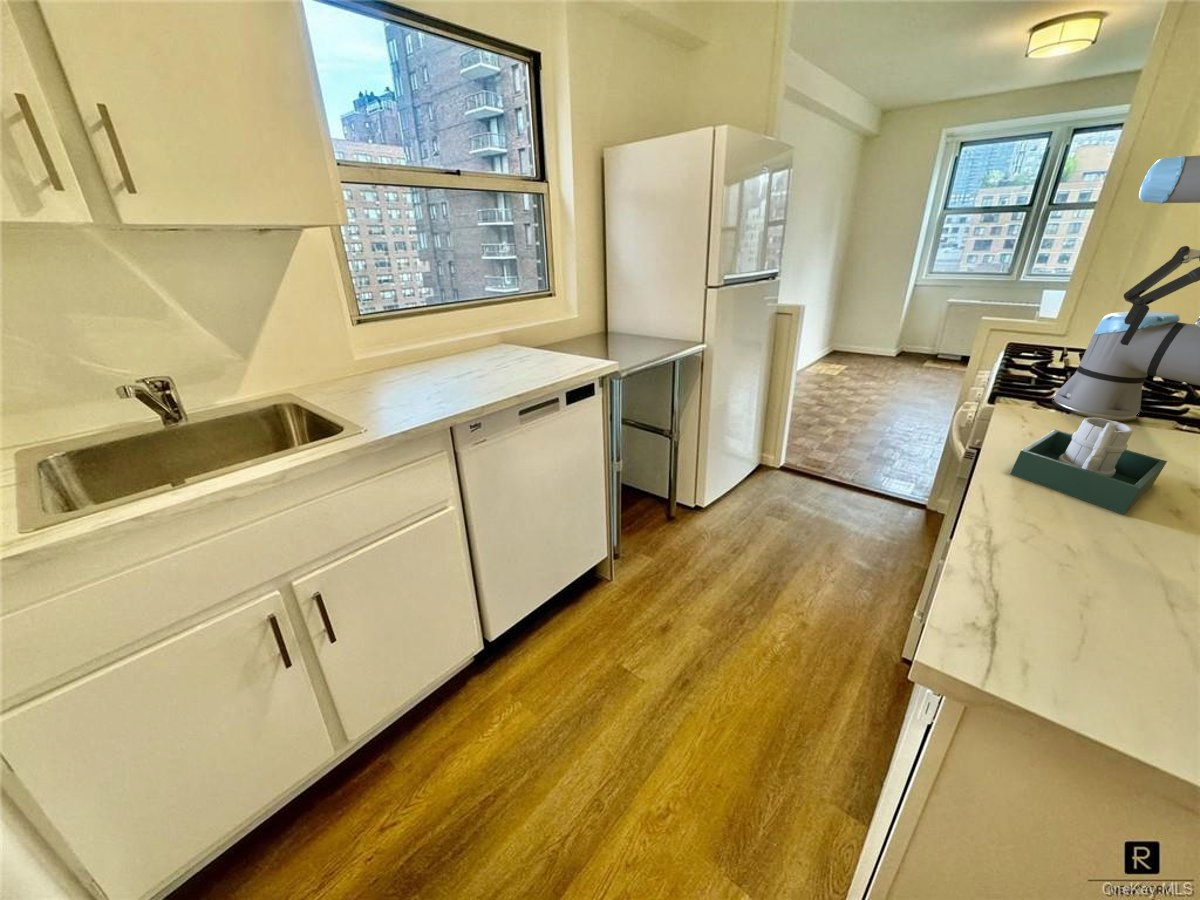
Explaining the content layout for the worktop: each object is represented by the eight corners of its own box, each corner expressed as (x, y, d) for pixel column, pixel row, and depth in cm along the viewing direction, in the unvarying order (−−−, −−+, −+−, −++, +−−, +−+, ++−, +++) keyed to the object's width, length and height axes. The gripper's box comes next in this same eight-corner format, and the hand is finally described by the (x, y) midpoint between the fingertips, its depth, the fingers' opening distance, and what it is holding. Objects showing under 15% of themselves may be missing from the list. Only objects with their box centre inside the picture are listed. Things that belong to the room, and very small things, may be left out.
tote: (1044, 451, 97) (1054, 429, 95) (1152, 485, 86) (1167, 461, 83) (1009, 474, 89) (1020, 450, 87) (1124, 515, 78) (1140, 488, 75)
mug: (1110, 473, 88) (1145, 413, 83) (1108, 498, 81) (1146, 434, 75) (1056, 459, 93) (1085, 401, 88) (1050, 481, 86) (1081, 419, 80)
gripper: (1150, 208, 81) (1079, 332, 87) (1415, 214, 63) (1302, 370, 69) (1153, 223, 86) (1085, 340, 92) (1401, 232, 68) (1296, 377, 74)
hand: (1178, 353), depth 81 cm, fingers open, 13 cm apart
